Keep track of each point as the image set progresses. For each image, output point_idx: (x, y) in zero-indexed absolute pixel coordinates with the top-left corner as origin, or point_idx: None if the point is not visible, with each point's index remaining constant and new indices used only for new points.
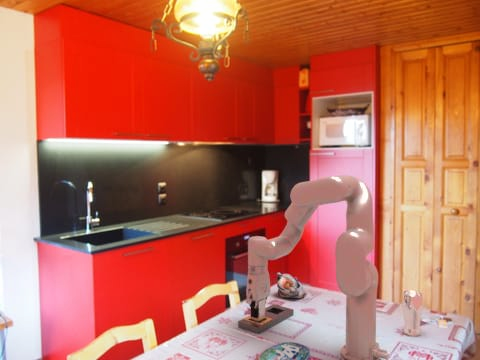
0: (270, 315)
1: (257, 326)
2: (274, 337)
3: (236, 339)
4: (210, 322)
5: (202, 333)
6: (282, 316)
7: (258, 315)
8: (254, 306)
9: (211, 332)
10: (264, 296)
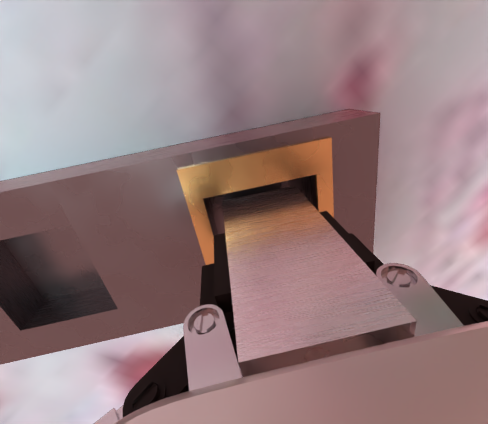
0: (137, 238)
1: (366, 141)
2: (295, 5)
3: (458, 161)
4: None
5: (473, 296)
6: (43, 181)
7: (321, 219)
8: (423, 285)
9: (447, 286)
10: (342, 399)
